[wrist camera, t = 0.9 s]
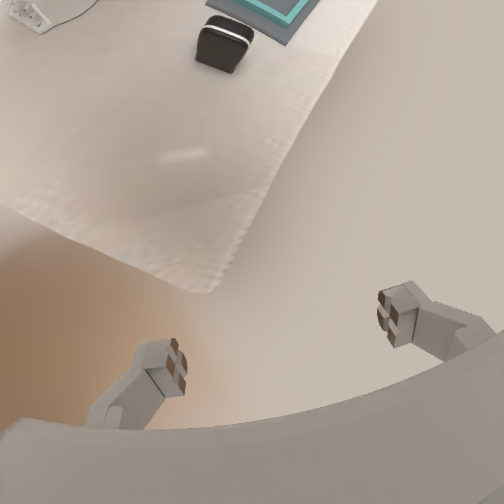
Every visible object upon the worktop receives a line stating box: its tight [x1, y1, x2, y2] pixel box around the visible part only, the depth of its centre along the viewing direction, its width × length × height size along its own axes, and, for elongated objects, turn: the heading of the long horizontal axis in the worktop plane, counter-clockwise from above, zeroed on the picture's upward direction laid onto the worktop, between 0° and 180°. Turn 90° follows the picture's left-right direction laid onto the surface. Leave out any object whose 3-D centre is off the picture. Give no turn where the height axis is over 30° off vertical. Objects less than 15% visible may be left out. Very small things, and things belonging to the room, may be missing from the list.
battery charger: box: [195, 15, 254, 73], centre depth 33 cm, size 7×4×11 cm, turn 68°
